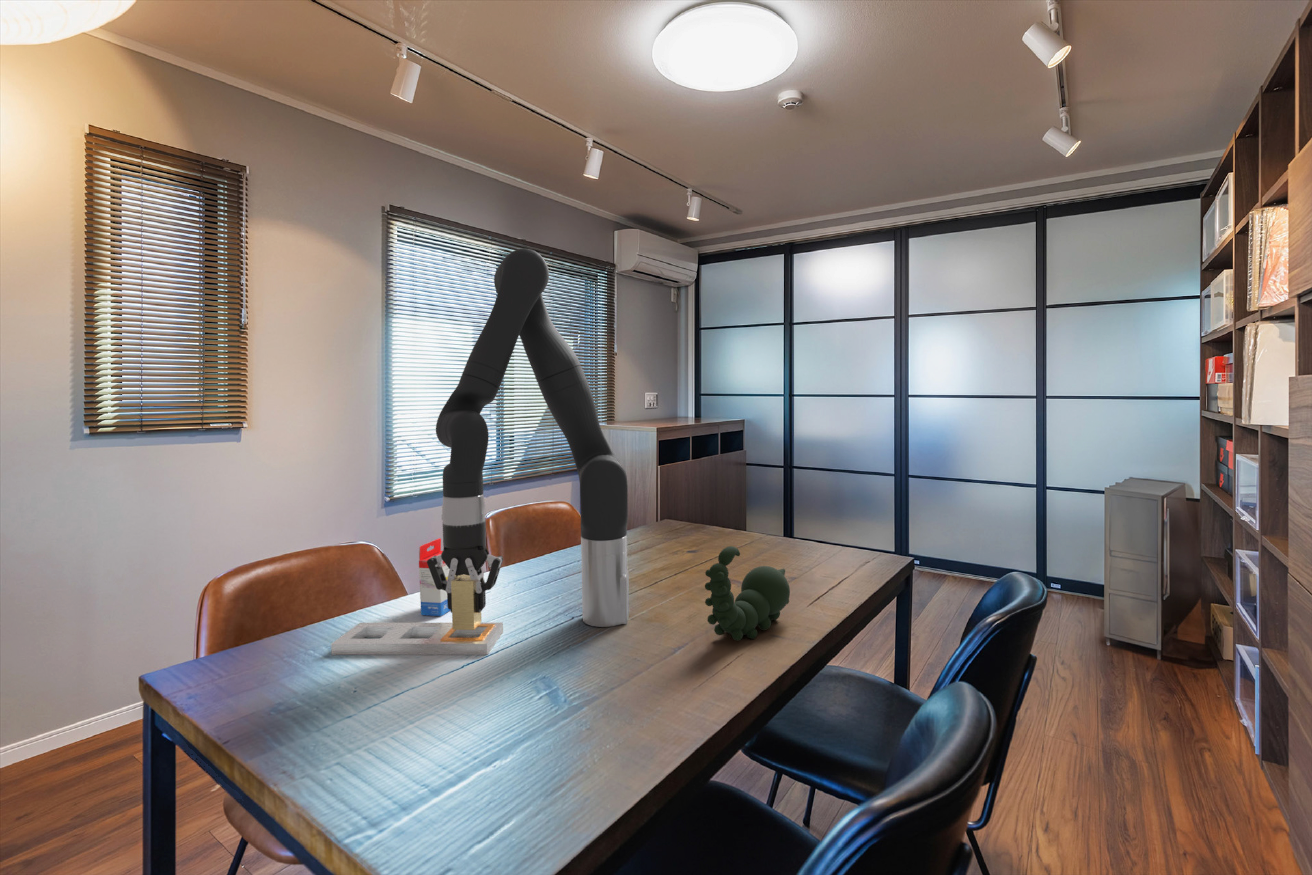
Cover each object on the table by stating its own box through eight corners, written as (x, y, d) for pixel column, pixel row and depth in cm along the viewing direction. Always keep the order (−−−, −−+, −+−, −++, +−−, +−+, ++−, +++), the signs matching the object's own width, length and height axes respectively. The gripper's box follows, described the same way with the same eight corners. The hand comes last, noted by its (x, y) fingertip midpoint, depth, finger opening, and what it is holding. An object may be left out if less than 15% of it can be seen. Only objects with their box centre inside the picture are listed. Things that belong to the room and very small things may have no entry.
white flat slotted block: (503, 632, 118) (502, 621, 118) (487, 654, 108) (486, 642, 108) (360, 632, 119) (359, 621, 119) (331, 654, 109) (331, 642, 109)
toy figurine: (739, 664, 107) (806, 612, 125) (733, 560, 104) (803, 522, 123) (696, 650, 113) (766, 602, 131) (689, 551, 110) (762, 517, 129)
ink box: (441, 617, 127) (438, 547, 126) (420, 615, 128) (417, 546, 127) (462, 603, 135) (459, 537, 134) (442, 602, 136) (439, 537, 135)
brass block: (481, 621, 115) (480, 574, 115) (474, 629, 111) (472, 581, 111) (460, 621, 115) (459, 574, 115) (452, 629, 111) (451, 580, 111)
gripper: (508, 515, 115) (510, 604, 117) (434, 515, 116) (437, 604, 117) (496, 524, 108) (498, 619, 109) (417, 523, 108) (420, 618, 110)
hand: (466, 610), depth 113 cm, fingers closed on brass block, 4 cm apart
